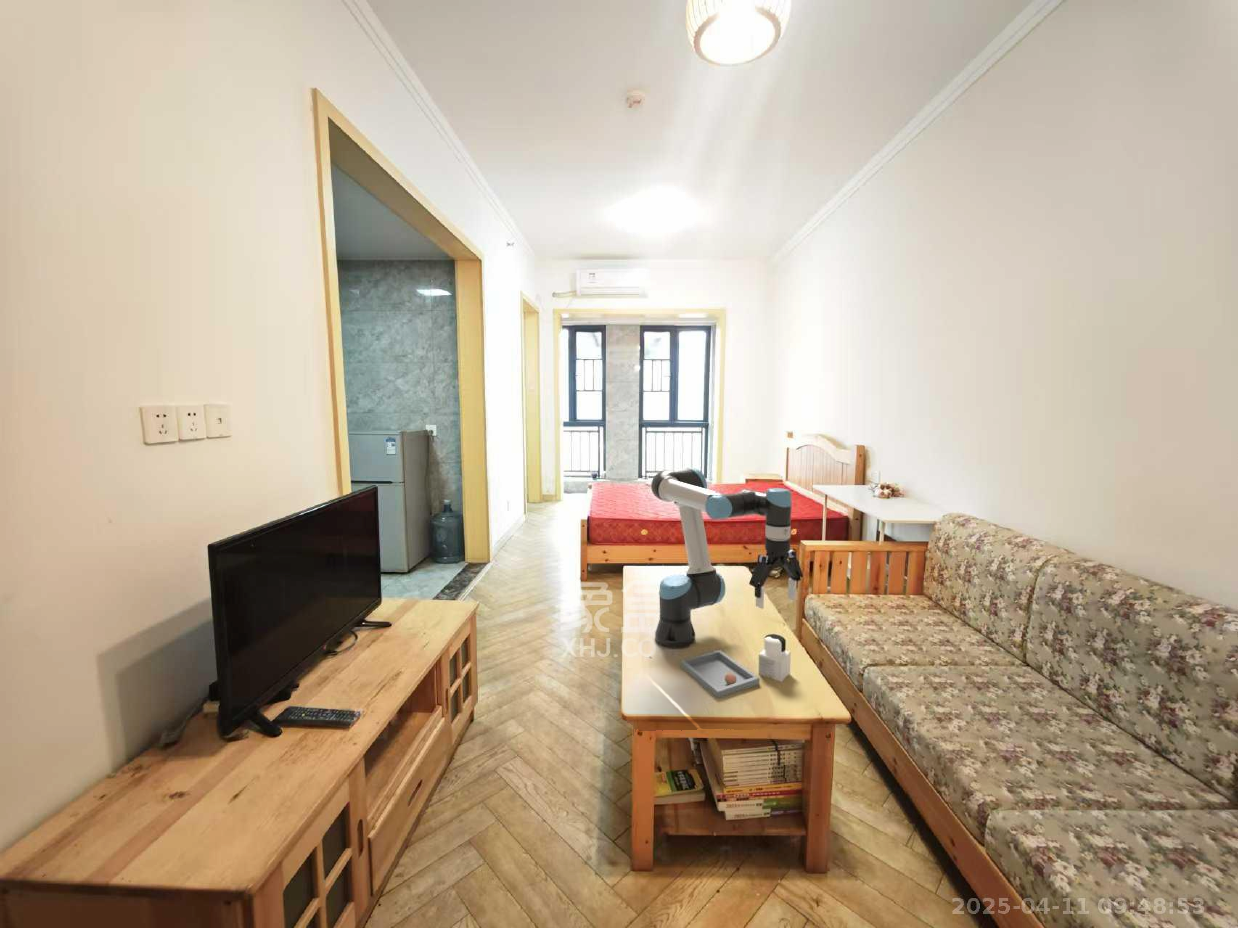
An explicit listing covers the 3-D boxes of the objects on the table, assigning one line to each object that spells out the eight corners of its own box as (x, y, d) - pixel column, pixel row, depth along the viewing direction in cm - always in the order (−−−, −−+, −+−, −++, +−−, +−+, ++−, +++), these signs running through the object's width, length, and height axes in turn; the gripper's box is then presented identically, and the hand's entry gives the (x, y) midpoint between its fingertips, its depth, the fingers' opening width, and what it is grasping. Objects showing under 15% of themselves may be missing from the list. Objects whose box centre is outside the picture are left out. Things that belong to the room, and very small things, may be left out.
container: (767, 666, 160) (768, 629, 158) (790, 674, 155) (791, 636, 153) (758, 676, 154) (758, 638, 152) (781, 684, 149) (782, 645, 148)
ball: (722, 682, 149) (722, 672, 148) (731, 680, 150) (731, 669, 150) (729, 688, 145) (729, 677, 145) (738, 685, 147) (738, 674, 147)
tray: (680, 669, 159) (680, 660, 158) (719, 657, 166) (719, 649, 165) (717, 701, 141) (717, 691, 141) (759, 687, 148) (759, 677, 147)
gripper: (755, 546, 141) (753, 614, 143) (816, 535, 151) (813, 599, 154) (738, 540, 147) (737, 605, 150) (797, 530, 158) (796, 592, 160)
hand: (776, 603), depth 152 cm, fingers open, 13 cm apart
